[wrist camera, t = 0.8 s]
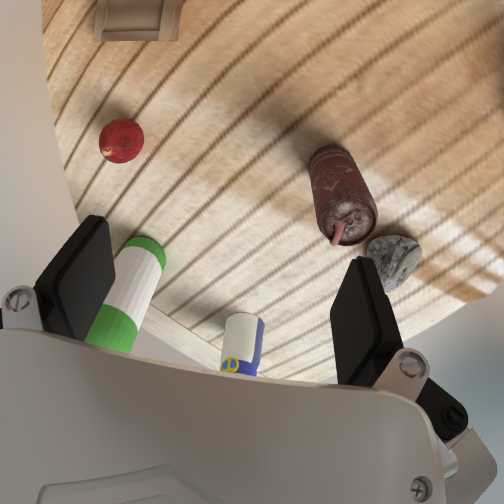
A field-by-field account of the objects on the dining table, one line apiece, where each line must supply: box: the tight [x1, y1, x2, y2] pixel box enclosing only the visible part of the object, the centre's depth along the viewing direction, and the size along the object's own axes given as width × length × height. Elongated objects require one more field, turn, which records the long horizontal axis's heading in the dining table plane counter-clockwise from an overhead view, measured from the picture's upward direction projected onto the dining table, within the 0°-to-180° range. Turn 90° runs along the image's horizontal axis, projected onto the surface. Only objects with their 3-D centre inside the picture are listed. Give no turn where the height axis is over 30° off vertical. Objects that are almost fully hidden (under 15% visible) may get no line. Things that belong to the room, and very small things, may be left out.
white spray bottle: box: [220, 313, 265, 376], centre depth 52 cm, size 8×9×25 cm
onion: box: [99, 118, 144, 164], centre depth 36 cm, size 6×6×8 cm
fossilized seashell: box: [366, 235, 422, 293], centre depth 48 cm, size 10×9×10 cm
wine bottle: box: [84, 237, 166, 353], centre depth 40 cm, size 8×8×30 cm
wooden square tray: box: [93, 0, 183, 42], centre depth 26 cm, size 10×10×3 cm
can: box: [309, 146, 378, 246], centre depth 35 cm, size 6×6×14 cm
